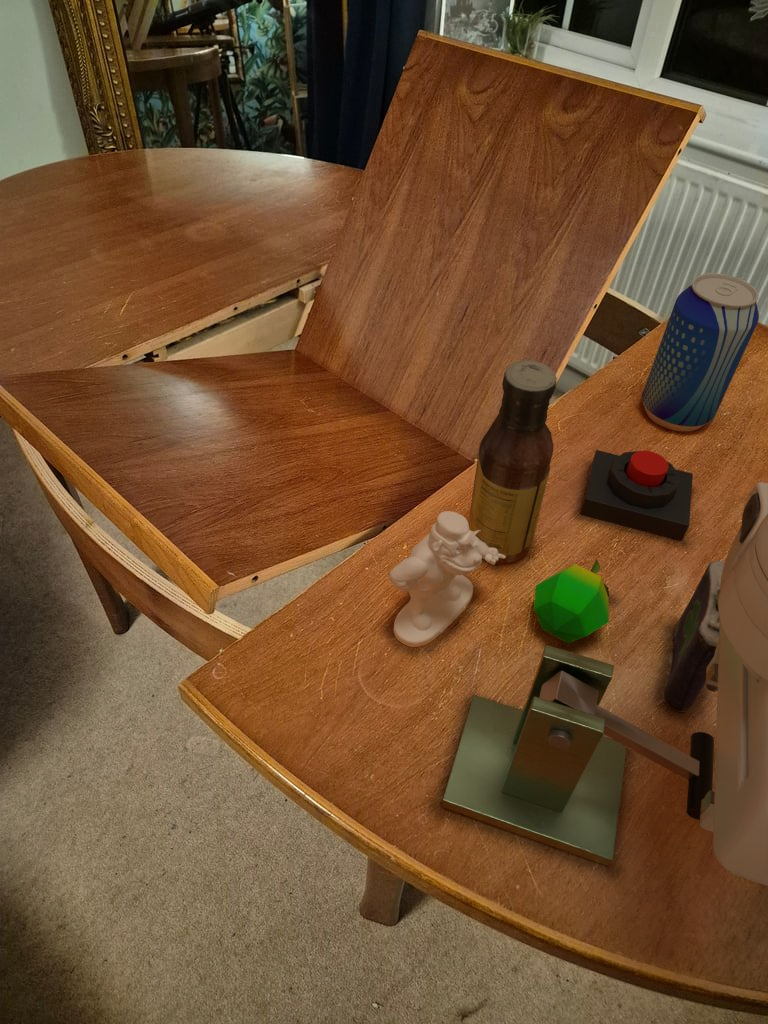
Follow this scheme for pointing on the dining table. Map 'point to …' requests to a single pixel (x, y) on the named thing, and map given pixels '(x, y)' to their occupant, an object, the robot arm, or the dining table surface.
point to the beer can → (700, 351)
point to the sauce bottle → (514, 462)
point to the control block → (637, 497)
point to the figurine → (438, 578)
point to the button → (647, 468)
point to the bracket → (543, 765)
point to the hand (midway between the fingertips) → (715, 747)
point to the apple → (572, 603)
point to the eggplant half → (694, 642)
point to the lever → (641, 738)
